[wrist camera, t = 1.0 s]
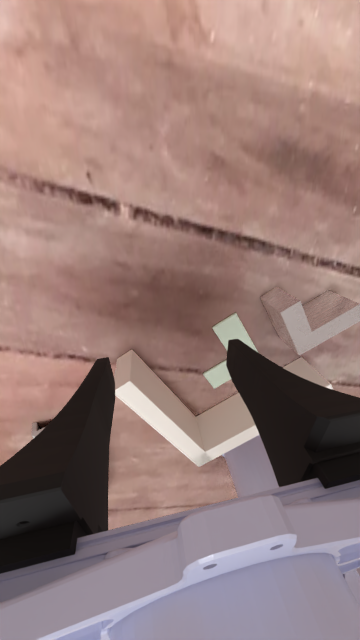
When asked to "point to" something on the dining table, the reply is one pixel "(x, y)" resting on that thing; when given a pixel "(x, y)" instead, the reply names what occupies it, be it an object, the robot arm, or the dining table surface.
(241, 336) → the mat
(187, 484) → the dining table surface
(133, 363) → the corner wall
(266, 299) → the bracket
